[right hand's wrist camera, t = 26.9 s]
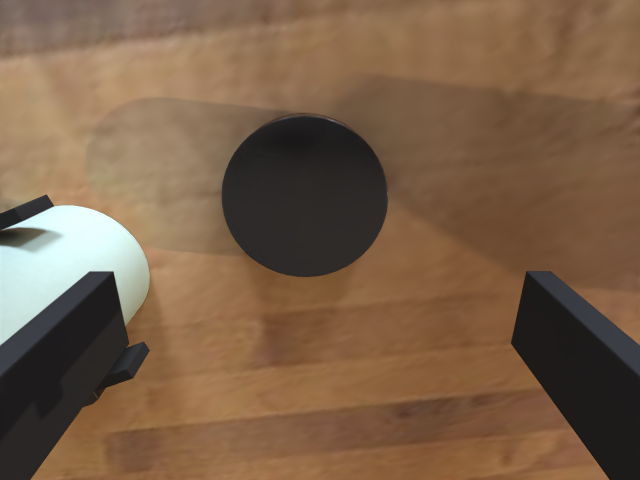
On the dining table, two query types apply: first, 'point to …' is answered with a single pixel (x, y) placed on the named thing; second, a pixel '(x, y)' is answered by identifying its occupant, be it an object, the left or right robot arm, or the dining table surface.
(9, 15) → the dining table surface
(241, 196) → the lid
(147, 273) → the jar
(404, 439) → the dining table surface
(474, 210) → the dining table surface
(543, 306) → the right robot arm
